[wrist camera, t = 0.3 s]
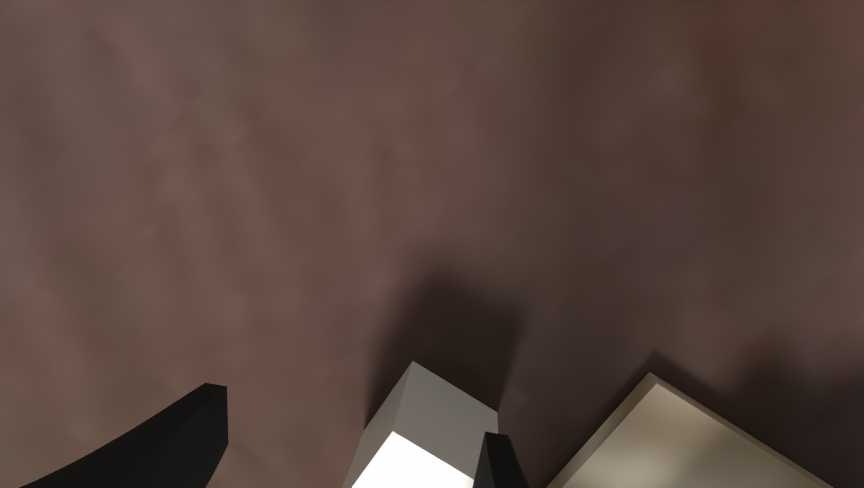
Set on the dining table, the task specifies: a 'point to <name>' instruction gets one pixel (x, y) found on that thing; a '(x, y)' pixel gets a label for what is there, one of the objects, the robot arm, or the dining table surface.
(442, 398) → the limestone block
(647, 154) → the dining table surface
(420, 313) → the dining table surface
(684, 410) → the beige slab
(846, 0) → the dining table surface
